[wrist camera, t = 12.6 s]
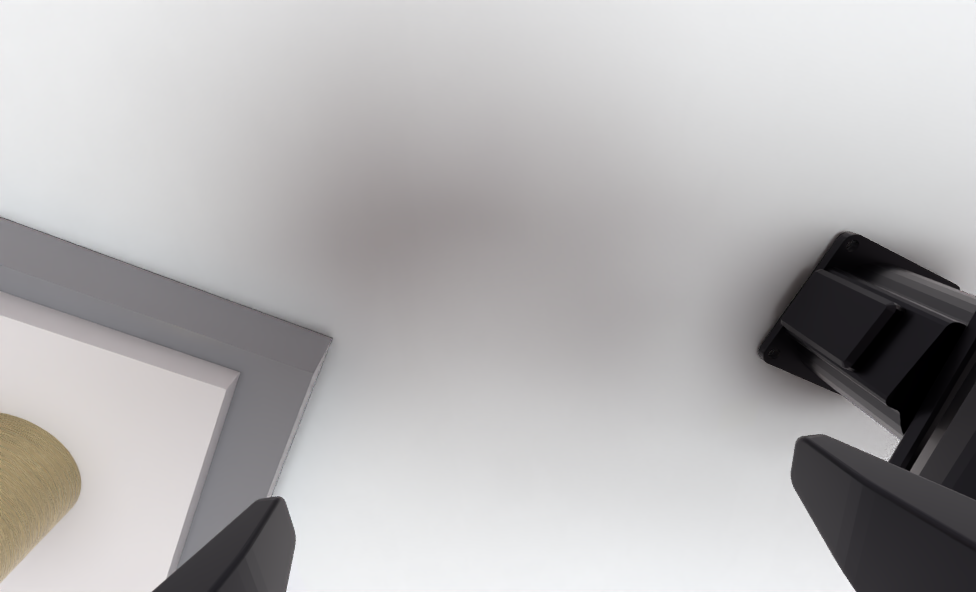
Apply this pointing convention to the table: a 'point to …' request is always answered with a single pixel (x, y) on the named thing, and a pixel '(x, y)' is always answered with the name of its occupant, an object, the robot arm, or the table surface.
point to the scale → (142, 407)
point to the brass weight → (31, 487)
